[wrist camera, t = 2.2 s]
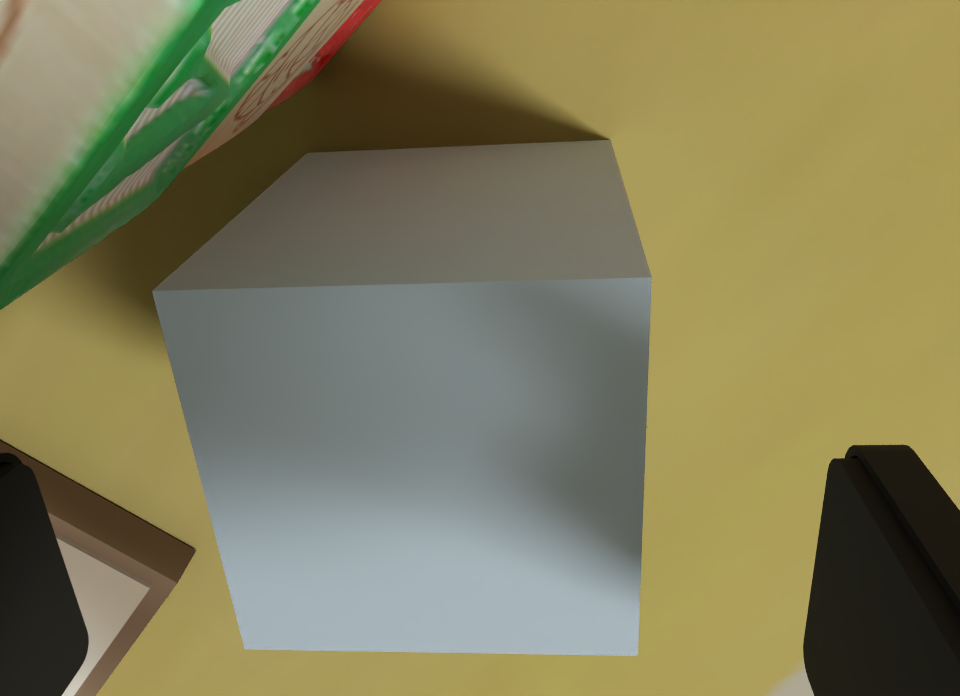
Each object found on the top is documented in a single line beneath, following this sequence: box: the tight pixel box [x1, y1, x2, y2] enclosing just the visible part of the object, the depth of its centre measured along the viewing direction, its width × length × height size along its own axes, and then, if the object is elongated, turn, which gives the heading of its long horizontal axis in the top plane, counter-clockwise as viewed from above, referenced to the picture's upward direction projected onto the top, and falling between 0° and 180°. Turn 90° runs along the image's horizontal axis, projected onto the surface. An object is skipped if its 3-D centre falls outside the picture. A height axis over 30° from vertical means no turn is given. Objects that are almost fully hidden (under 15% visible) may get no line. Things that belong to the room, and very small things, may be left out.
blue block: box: [152, 140, 652, 656], centre depth 12 cm, size 5×5×6 cm
